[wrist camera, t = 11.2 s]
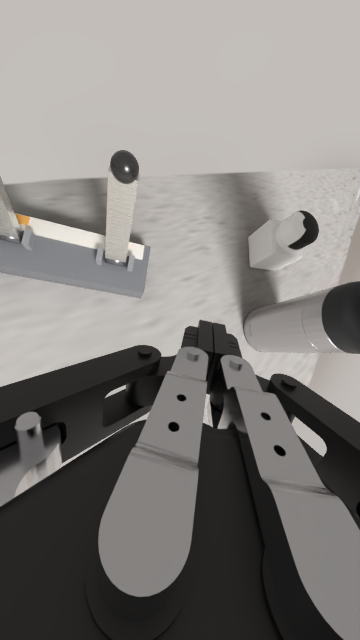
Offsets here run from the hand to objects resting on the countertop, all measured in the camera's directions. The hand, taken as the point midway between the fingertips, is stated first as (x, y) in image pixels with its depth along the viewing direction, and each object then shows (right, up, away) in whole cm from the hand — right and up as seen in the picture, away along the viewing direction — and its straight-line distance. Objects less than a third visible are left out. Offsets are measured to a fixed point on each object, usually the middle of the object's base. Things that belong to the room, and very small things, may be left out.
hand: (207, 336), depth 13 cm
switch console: (-20, +11, +23) cm, 32 cm away
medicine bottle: (+17, +16, +35) cm, 42 cm away
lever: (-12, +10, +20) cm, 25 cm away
